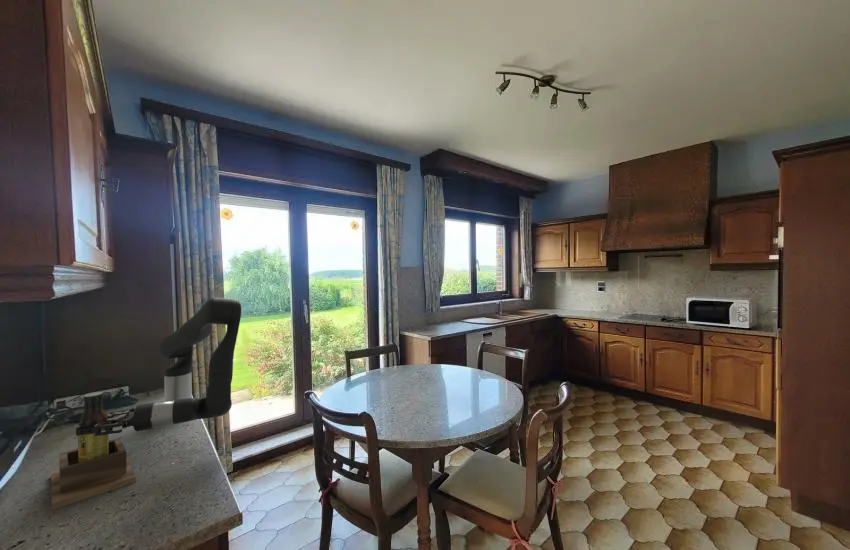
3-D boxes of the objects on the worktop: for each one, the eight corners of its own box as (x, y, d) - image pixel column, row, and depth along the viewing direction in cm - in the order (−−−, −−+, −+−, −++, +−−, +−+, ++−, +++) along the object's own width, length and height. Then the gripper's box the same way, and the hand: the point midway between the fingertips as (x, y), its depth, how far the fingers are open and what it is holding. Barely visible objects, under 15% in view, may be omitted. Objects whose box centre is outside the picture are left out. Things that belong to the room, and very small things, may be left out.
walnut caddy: (51, 476, 100) (51, 450, 100) (124, 455, 112) (124, 431, 112) (51, 510, 85) (51, 479, 85) (136, 481, 97) (135, 454, 97)
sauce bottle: (78, 464, 98) (76, 394, 99) (107, 455, 103) (106, 388, 103) (79, 472, 94) (77, 399, 94) (110, 463, 98) (108, 393, 99)
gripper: (161, 395, 111) (91, 405, 104) (149, 410, 99) (69, 422, 91) (161, 419, 111) (92, 430, 104) (150, 436, 99) (70, 451, 91)
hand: (82, 427), depth 97 cm, fingers closed on sauce bottle, 6 cm apart
